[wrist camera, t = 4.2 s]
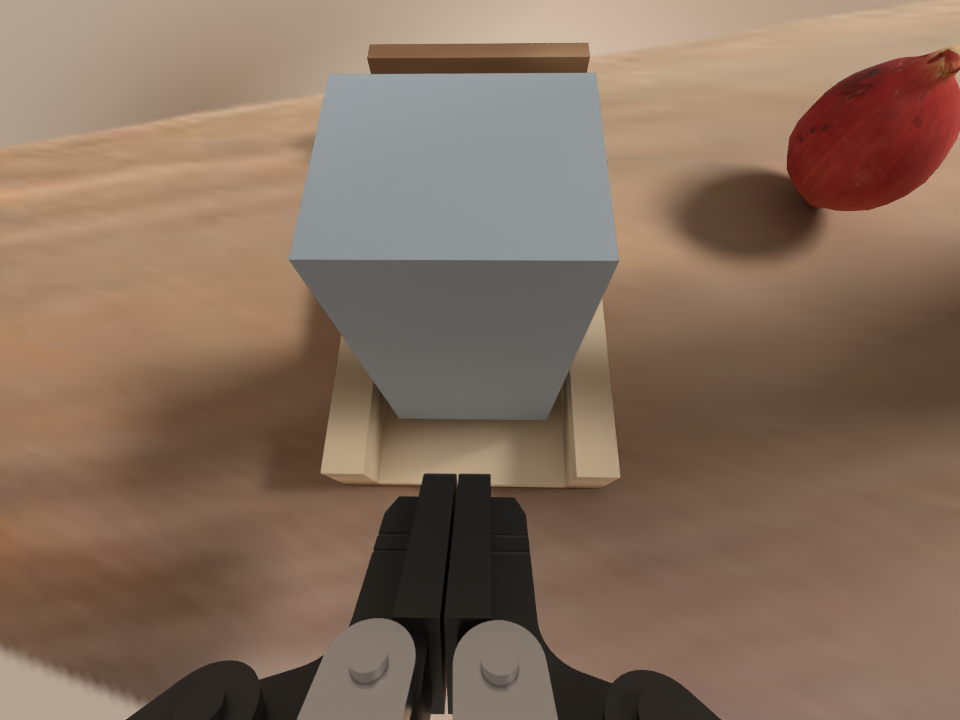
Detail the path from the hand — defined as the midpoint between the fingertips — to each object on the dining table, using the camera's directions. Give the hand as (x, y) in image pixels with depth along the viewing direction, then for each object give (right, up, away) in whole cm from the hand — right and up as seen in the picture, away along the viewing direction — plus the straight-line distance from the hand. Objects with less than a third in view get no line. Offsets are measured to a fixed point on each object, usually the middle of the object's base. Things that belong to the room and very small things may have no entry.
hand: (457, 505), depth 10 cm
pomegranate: (+18, +12, +14) cm, 26 cm away
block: (0, +3, +9) cm, 10 cm away
